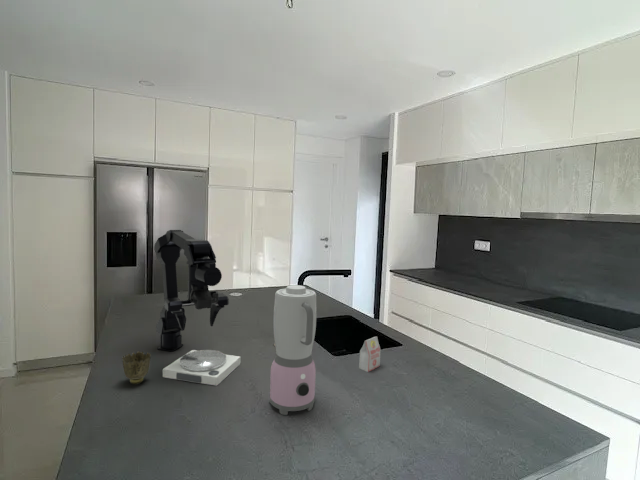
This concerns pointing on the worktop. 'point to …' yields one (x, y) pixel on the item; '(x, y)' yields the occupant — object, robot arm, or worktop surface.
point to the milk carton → (370, 355)
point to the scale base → (202, 376)
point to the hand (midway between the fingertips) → (197, 328)
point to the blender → (293, 350)
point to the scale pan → (203, 360)
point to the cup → (136, 366)
